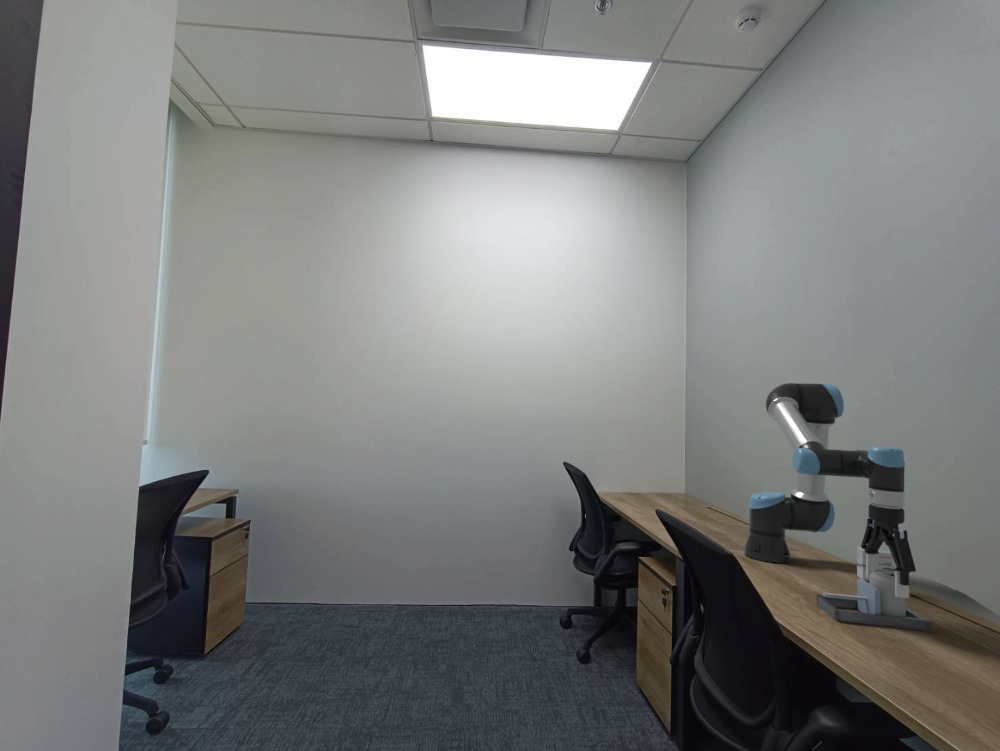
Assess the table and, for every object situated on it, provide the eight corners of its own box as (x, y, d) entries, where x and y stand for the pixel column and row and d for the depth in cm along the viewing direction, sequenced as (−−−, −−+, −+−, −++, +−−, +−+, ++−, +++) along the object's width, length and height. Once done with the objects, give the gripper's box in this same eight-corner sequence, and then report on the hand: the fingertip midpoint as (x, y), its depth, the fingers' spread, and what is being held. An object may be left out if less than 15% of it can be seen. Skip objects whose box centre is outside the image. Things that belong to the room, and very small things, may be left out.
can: (912, 626, 125) (912, 578, 126) (879, 623, 127) (878, 574, 128) (895, 615, 133) (895, 569, 133) (864, 611, 134) (863, 566, 135)
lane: (816, 604, 138) (816, 594, 138) (902, 613, 134) (902, 603, 134) (836, 621, 127) (836, 611, 127) (930, 631, 123) (930, 621, 123)
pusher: (816, 604, 137) (816, 574, 137) (862, 609, 135) (862, 579, 135) (831, 617, 128) (831, 585, 129) (880, 622, 126) (880, 590, 127)
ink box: (861, 588, 152) (861, 549, 153) (856, 583, 157) (856, 545, 158) (896, 593, 149) (895, 553, 150) (889, 588, 154) (889, 549, 155)
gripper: (847, 496, 145) (847, 570, 143) (898, 514, 120) (898, 604, 119) (876, 498, 143) (876, 572, 142) (933, 517, 119) (934, 608, 118)
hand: (886, 587), depth 131 cm, fingers open, 13 cm apart
